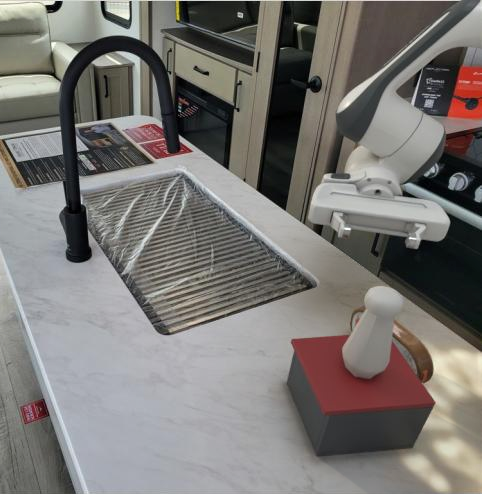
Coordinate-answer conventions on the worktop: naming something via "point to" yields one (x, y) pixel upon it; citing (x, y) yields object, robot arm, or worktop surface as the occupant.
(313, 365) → the storage bin lid
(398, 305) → the salt shaker
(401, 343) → the tin
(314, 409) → the dark grey storage bin
